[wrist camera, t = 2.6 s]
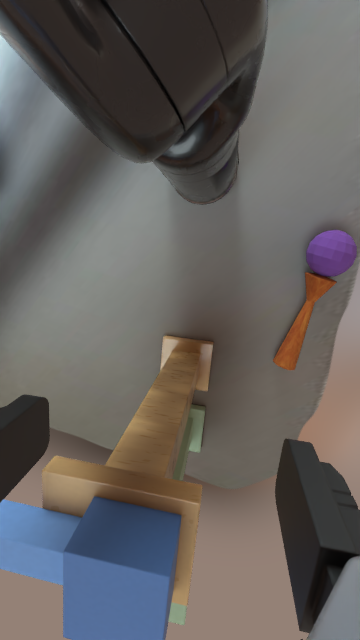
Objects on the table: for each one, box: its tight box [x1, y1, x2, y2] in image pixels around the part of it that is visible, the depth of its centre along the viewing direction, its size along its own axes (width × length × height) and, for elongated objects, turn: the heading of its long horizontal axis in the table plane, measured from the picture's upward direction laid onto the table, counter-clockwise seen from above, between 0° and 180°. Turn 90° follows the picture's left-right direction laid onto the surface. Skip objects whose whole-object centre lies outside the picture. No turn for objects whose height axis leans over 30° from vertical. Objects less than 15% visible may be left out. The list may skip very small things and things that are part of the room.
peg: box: [0, 496, 182, 640], centre depth 18 cm, size 18×6×4 cm, turn 84°
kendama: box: [273, 230, 357, 370], centre depth 42 cm, size 6×6×20 cm
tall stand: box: [42, 336, 213, 606], centre depth 34 cm, size 10×8×32 cm
